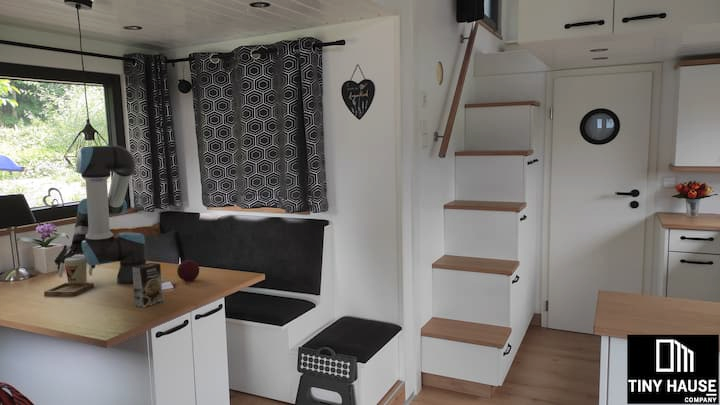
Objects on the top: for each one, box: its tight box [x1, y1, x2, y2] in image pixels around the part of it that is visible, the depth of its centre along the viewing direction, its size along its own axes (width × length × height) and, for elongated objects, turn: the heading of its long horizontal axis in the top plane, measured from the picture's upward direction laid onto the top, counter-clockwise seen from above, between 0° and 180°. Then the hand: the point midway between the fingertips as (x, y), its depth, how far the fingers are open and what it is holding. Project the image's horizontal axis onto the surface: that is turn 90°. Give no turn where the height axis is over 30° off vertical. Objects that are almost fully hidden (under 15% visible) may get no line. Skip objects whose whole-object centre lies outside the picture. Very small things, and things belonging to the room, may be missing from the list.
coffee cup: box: [64, 255, 88, 283], centre depth 254 cm, size 9×9×12 cm
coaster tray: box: [43, 282, 95, 297], centre depth 240 cm, size 14×14×2 cm
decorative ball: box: [176, 259, 200, 282], centre depth 253 cm, size 10×10×10 cm
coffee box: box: [132, 262, 164, 308], centre depth 218 cm, size 9×6×16 cm
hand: (75, 275), depth 252 cm, fingers open, 12 cm apart
